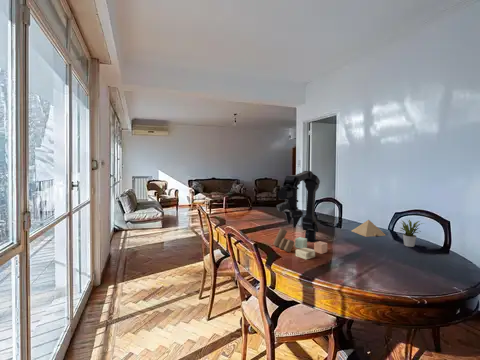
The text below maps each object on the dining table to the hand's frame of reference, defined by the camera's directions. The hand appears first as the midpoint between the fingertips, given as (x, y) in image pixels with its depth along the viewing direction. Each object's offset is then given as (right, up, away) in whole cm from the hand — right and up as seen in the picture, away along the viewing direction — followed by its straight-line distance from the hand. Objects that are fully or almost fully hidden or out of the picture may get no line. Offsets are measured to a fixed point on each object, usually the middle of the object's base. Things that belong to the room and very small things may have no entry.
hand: (291, 225), depth 160 cm
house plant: (+73, -14, +10) cm, 75 cm away
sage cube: (+7, -13, +5) cm, 16 cm away
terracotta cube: (+15, -14, -3) cm, 21 cm away
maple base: (+5, -15, -11) cm, 19 cm away
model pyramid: (+61, -12, +39) cm, 74 cm away
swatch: (+9, -14, -1) cm, 16 cm away
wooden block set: (-4, -14, +4) cm, 15 cm away
